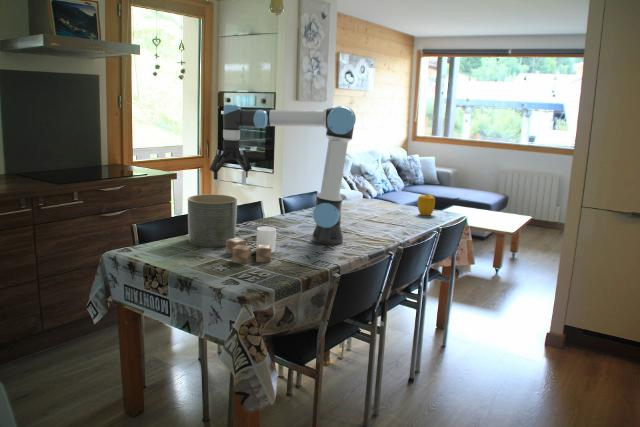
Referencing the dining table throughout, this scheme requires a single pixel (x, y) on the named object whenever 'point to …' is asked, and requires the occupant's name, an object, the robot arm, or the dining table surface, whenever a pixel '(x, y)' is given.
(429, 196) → the yellow bell pepper
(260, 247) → the labelled cube
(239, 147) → the robot arm
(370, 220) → the dining table surface
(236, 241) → the labelled cube a
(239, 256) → the plain cube
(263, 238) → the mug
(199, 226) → the planter
